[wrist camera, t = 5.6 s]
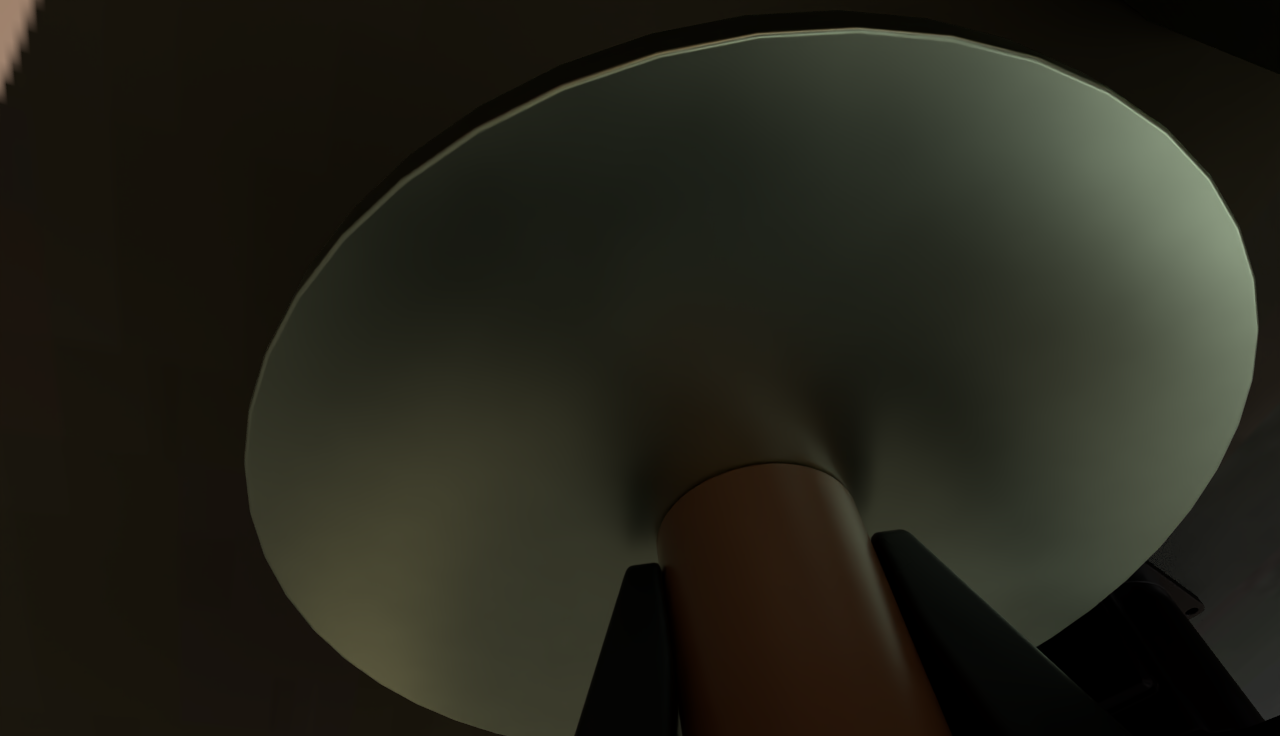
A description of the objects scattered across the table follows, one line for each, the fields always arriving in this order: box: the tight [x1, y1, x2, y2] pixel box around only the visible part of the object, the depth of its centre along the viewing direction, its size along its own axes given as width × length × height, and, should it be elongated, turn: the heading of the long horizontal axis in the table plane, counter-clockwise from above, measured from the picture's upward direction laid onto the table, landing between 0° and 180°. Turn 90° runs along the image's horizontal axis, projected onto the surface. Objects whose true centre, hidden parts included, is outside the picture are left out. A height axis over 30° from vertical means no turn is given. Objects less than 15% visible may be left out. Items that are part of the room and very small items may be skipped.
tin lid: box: [244, 10, 1259, 736], centre depth 8 cm, size 12×12×5 cm
